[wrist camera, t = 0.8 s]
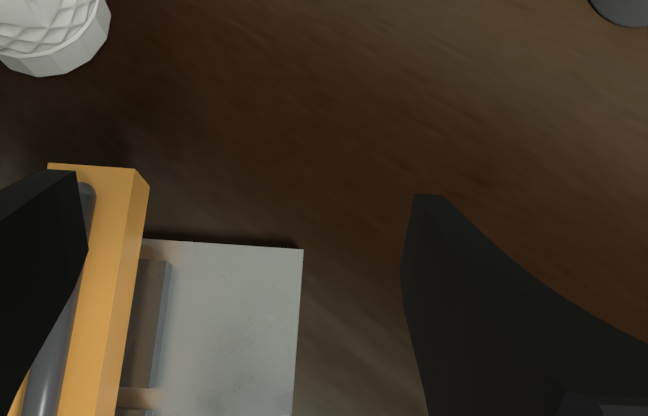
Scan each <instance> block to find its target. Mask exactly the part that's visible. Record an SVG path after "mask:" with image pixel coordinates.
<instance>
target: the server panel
mask: <svg viewBox="0 0 648 416" xmlns="http://www.w3.org/2000/svg"><path fill="white" fill-rule="evenodd" d="M303 255H304V250H303V249H288V248H273V247H259V246H244V245H229V244H215V243H200V242H185V241H171V240H156V239H142V241H141V247H140V254H139V260H138V267H137V273H136V280H135V286H134V292H133V299H132V305H131V312H130V318H129V325H128V331H127V337H126V344H125V350H124V357H123V363H122V370H121V376H120V383H119V389H118V395H117V402H116V408H115V415H114V416H292V405H293V391H294V377H295V364H296V350H297V337H298V323H299V309H300V296H301V282H302V268H303Z"/></svg>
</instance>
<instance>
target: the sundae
mask: <svg viewBox="0 0 648 416" xmlns="http://www.w3.org/2000/svg"><path fill="white" fill-rule="evenodd" d="M590 2H591V4H592V5H593V6H594V8H595V9H596V10H597V11H598V12H599V14H600V15H602V16H603V17H604V18H606V19H607V20H609V21H611V22H613V23H615V24H618V25H621V26H625V27H631V28H636V27H644V26H648V0H590Z"/></svg>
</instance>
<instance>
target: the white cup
mask: <svg viewBox="0 0 648 416" xmlns="http://www.w3.org/2000/svg"><path fill="white" fill-rule="evenodd" d="M110 19H111V13H110V10H109V7H108V5H107V2H106V0H0V60H1V61H2V62H3V63H4V64H5V65H6V66H7V67H8V68H9V69H11V70H13V71H17V72H21V73H24V74H28V75H31V76H35V77H45V76H52V75H60V74H66V73H68V72H70V71H72V70H74V69H76V68H77V67H79V66H81V65H83V64H85V63H86V62H88V61H90V60H91V59H92V58H93V56H94V55H95V54H96V53H97V51H98V50H99V49H100V47H101V46H102V45H103V43H104V42H105V41H106V39H107V35H108V30H109V25H110Z"/></svg>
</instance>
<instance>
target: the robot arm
mask: <svg viewBox="0 0 648 416" xmlns="http://www.w3.org/2000/svg"><path fill="white" fill-rule="evenodd" d="M88 251H89V247H88V241H87V235H86V229H85V223H84V217H83V211H82V205H81V199H80V193H79V187H78V181H77V175H76V171H72V170H57V169H44V170H42V171H39V172H36V173H34V174H32V175H30V176H27V177H25V178H23V179H21V180H19V181H17V182H15V183H13V184H11V185H9V186H7V187H5V188H3V189H1V190H0V416H7V415H8V413H9V411H10V408H11V406H12V403H13V401H14V399H15V396H16V394H17V392H18V390H19V388H20V386H21V384H22V382H23V380H24V378H25V376H26V374H27V372H28V371H29V369H30V367H31V365H32V364H33V362H34V360H35V358H36V357H37V355H38V353H39V351H40V349H41V348H42V346H43V344H44V342H45V341H46V339H47V337H48V335H49V334H50V332H51V330H52V328H53V327H54V325H55V323H56V321H57V320H58V318H59V316H60V314H61V312H62V311H63V309H64V307H65V305H66V303H67V302H68V300H69V298H70V296H71V294H72V292H73V290H74V289H75V286H76V284H77V281H78V278H79V276H80V273H81V271H82V268H83V265H84V262H85V260H86V257H87V254H88ZM400 277H401V288H402V297H403V306H404V311H405V315H406V320H407V324H408V328H409V332H410V336H411V340H412V344H413V348H414V352H415V356H416V360H417V364H418V369H419V373H420V377H421V381H422V385H423V389H424V393H425V398H426V403H427V408H428V414H429V416H648V344H647V343H645V342H643V341H641V340H639V339H637V338H635V337H633V336H631V335H629V334H627V333H625V332H623V331H621V330H619V329H617V328H615V327H613V326H612V325H610V324H608V323H606V322H605V321H603V320H601V319H599V318H597V317H596V316H594V315H592V314H590V313H589V312H587V311H585V310H583V309H582V308H580V307H578V306H577V305H575V304H574V303H572V302H570V301H569V300H567V299H566V298H564V297H563V296H561V295H560V294H558V293H557V292H555V291H554V290H552V289H551V288H550V287H548V286H547V285H545V284H544V283H542V282H541V281H539V280H538V279H537V278H535V277H534V276H533V275H531V274H530V273H529V272H527V271H526V270H525V269H524V268H522V267H521V266H520V265H519V264H517V263H516V262H515V261H514V260H513V259H511V258H510V257H509V256H508V255H506V254H505V253H504V252H503V251H502V250H501V249H500V248H498V247H497V246H496V245H495V244H494V243H493V242H492V241H491V240H489V239H488V238H487V237H486V236H485V235H484V234H483V233H482V232H481V231H480V230H479V229H478V228H477V227H475V226H474V225H473V224H472V223H471V222H470V221H469V220H468V219H467V218H466V217H465V216H464V215H463V214H462V213H461V212H460V211H459V210H458V209H457V208H456V207H455V206H454V205H453V204H451V203H450V202H449V201H448V200H447V199H446V198H445V197H444V196H442V195H429V194H414V198H413V203H412V208H411V213H410V219H409V224H408V229H407V234H406V239H405V244H404V249H403V254H402V259H401V264H400Z"/></svg>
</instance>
